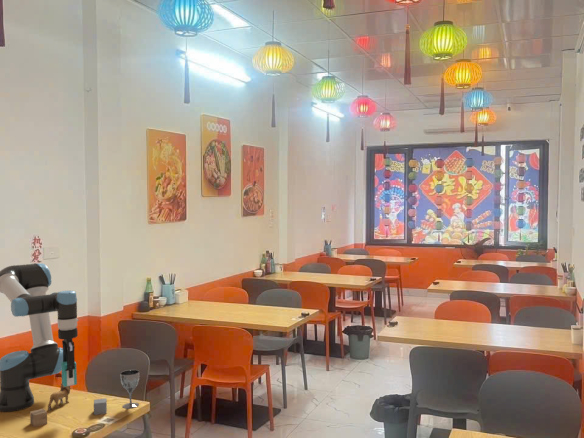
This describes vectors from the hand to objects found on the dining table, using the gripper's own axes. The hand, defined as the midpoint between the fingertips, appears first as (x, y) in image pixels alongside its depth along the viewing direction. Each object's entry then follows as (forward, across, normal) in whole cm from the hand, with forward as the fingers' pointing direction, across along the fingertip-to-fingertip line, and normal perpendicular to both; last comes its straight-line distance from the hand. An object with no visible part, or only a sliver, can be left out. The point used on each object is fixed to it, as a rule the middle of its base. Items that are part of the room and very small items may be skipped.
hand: (69, 383), depth 227 cm
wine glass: (+15, -1, -25) cm, 29 cm away
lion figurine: (+15, +18, +1) cm, 24 cm away
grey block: (+15, -1, -12) cm, 19 cm away
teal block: (0, 0, 0) cm, 0 cm away
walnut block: (+15, +1, +12) cm, 19 cm away
